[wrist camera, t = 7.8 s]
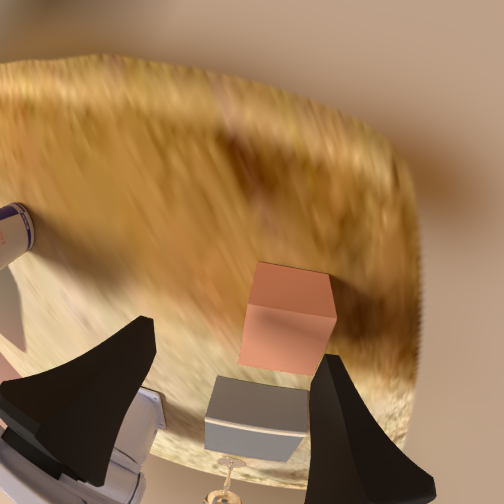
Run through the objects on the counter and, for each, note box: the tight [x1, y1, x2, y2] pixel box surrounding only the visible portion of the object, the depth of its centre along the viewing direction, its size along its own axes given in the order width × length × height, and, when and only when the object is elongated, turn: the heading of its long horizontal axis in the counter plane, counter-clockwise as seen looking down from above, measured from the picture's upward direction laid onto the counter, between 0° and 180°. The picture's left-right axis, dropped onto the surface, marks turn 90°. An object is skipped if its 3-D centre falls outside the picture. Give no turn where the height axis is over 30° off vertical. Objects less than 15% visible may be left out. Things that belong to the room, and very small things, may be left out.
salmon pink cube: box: [238, 262, 337, 376], centre depth 18 cm, size 5×5×5 cm
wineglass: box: [203, 458, 245, 504], centre depth 31 cm, size 6×6×12 cm
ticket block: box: [204, 376, 307, 462], centre depth 25 cm, size 8×9×5 cm
